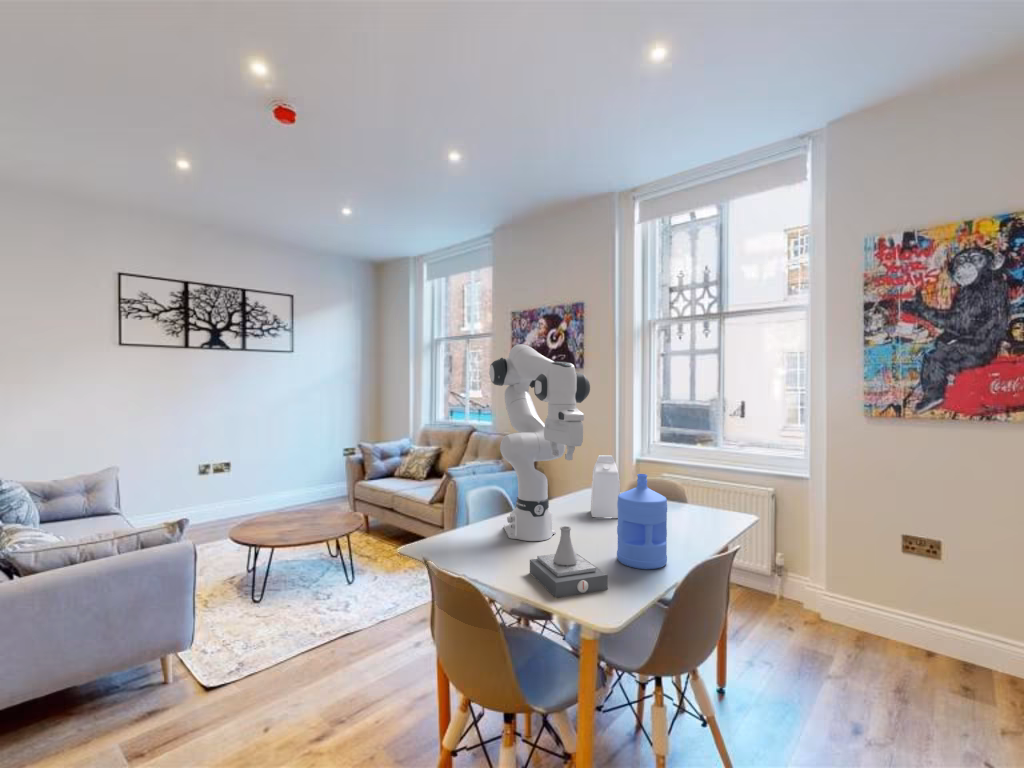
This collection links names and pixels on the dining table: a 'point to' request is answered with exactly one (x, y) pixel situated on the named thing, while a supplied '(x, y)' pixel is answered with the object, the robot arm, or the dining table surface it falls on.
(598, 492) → the milk
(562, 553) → the flask
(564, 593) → the base
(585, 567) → the pan
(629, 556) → the water jug
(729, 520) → the dining table surface
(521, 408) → the robot arm
